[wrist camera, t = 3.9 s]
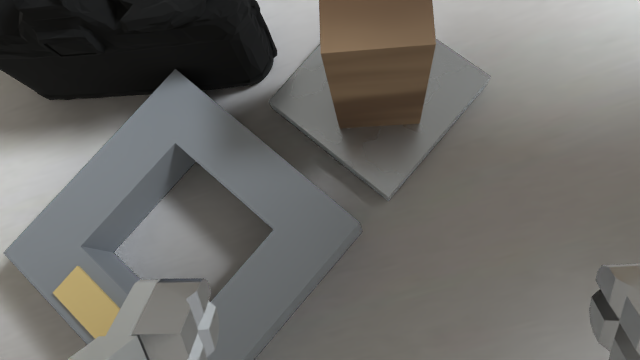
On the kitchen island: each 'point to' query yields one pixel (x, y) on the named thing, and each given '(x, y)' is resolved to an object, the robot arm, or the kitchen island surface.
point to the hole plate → (147, 191)
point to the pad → (380, 141)
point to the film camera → (132, 45)
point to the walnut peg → (377, 59)
